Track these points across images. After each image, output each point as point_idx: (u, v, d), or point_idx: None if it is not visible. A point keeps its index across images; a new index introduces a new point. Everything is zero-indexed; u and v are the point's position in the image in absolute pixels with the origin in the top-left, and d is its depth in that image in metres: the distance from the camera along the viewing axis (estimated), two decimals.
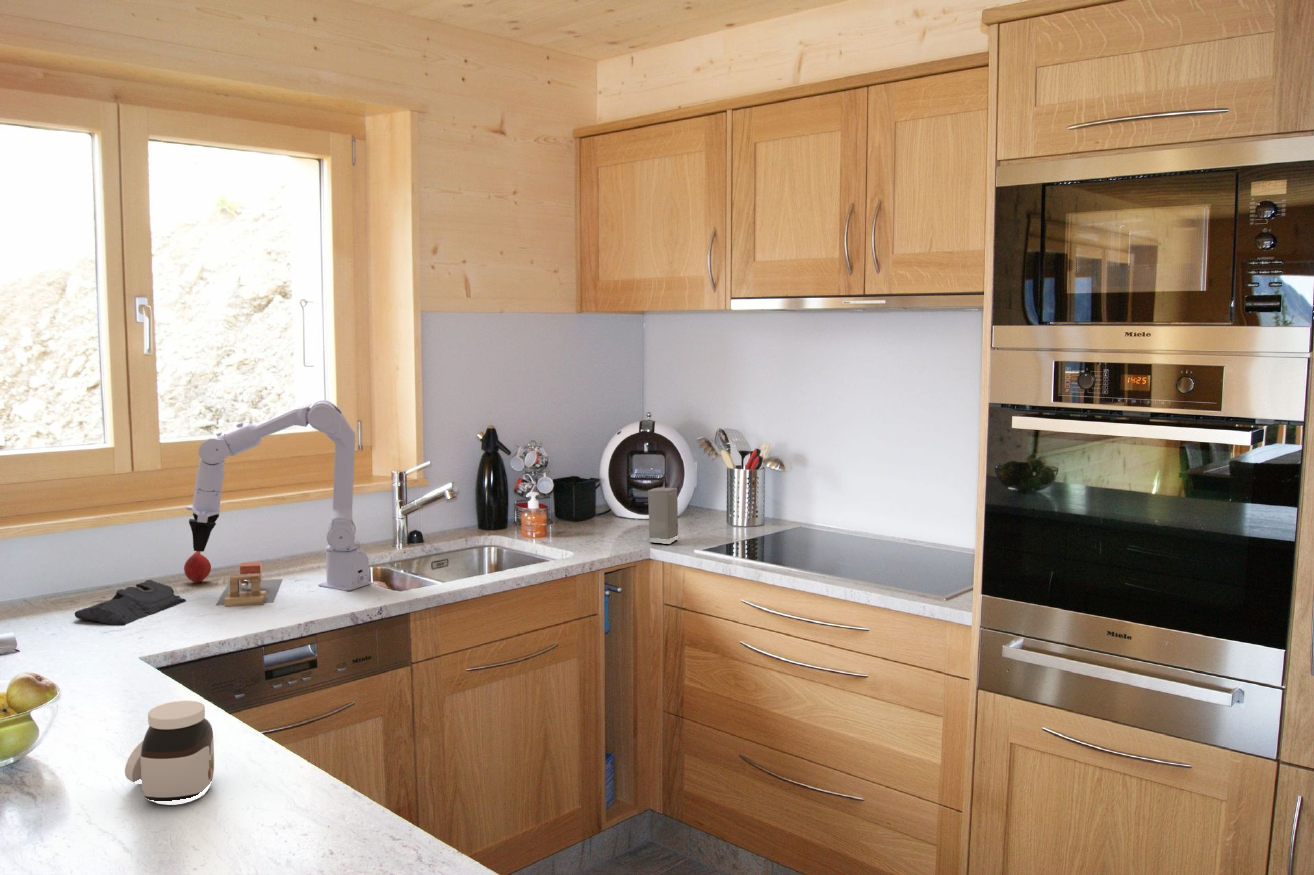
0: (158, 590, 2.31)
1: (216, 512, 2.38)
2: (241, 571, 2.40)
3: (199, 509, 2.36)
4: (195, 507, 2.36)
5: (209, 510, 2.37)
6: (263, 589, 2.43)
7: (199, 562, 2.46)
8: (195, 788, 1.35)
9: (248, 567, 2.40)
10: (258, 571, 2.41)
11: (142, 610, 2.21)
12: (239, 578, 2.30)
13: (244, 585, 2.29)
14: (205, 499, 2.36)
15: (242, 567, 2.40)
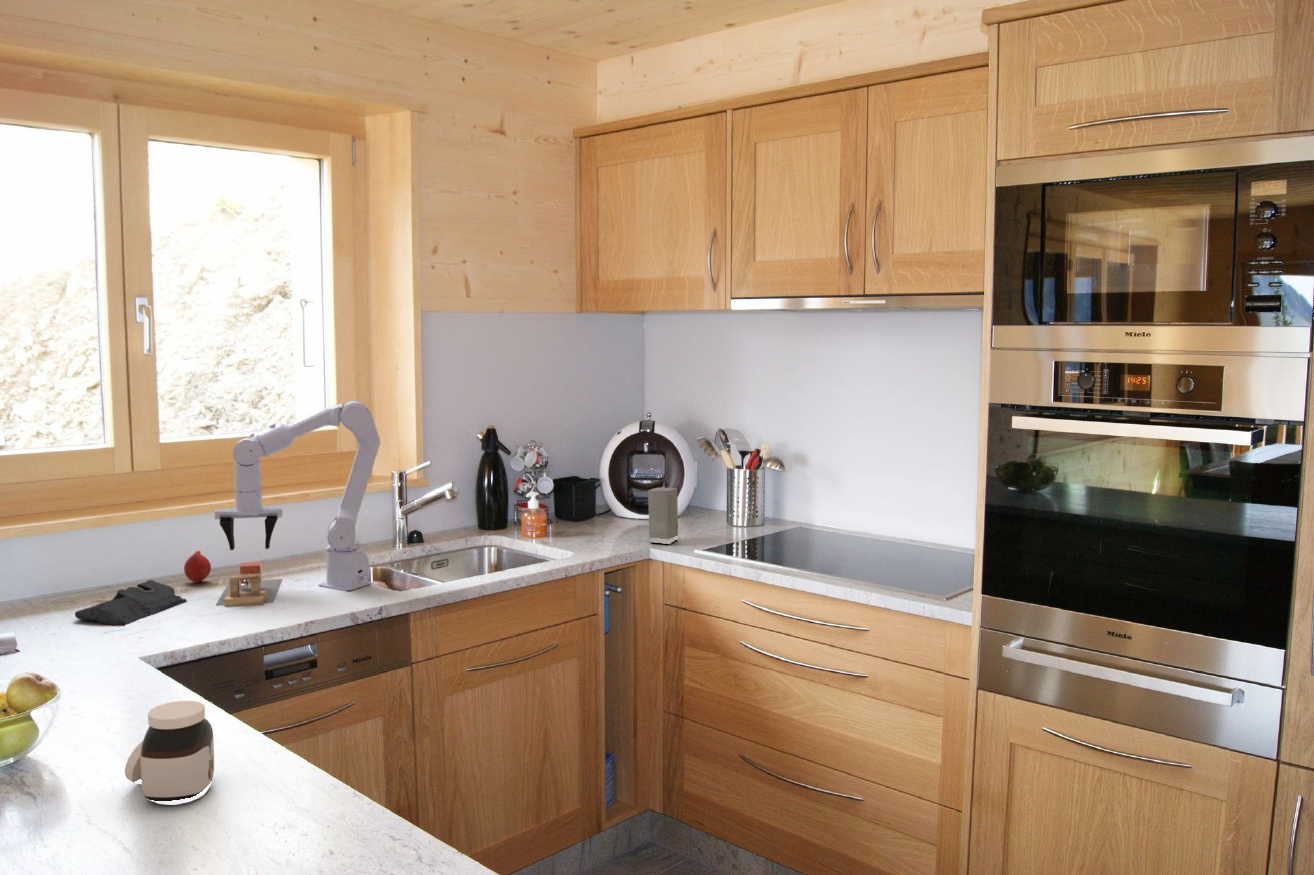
0: (158, 590, 2.31)
1: None
2: (241, 571, 2.40)
3: (260, 509, 2.40)
4: (256, 509, 2.39)
5: (261, 508, 2.42)
6: (263, 589, 2.43)
7: (199, 562, 2.46)
8: (195, 788, 1.35)
9: (248, 567, 2.40)
10: (258, 571, 2.41)
11: (142, 610, 2.21)
12: (239, 578, 2.30)
13: (244, 585, 2.29)
14: (261, 499, 2.41)
15: (242, 567, 2.40)
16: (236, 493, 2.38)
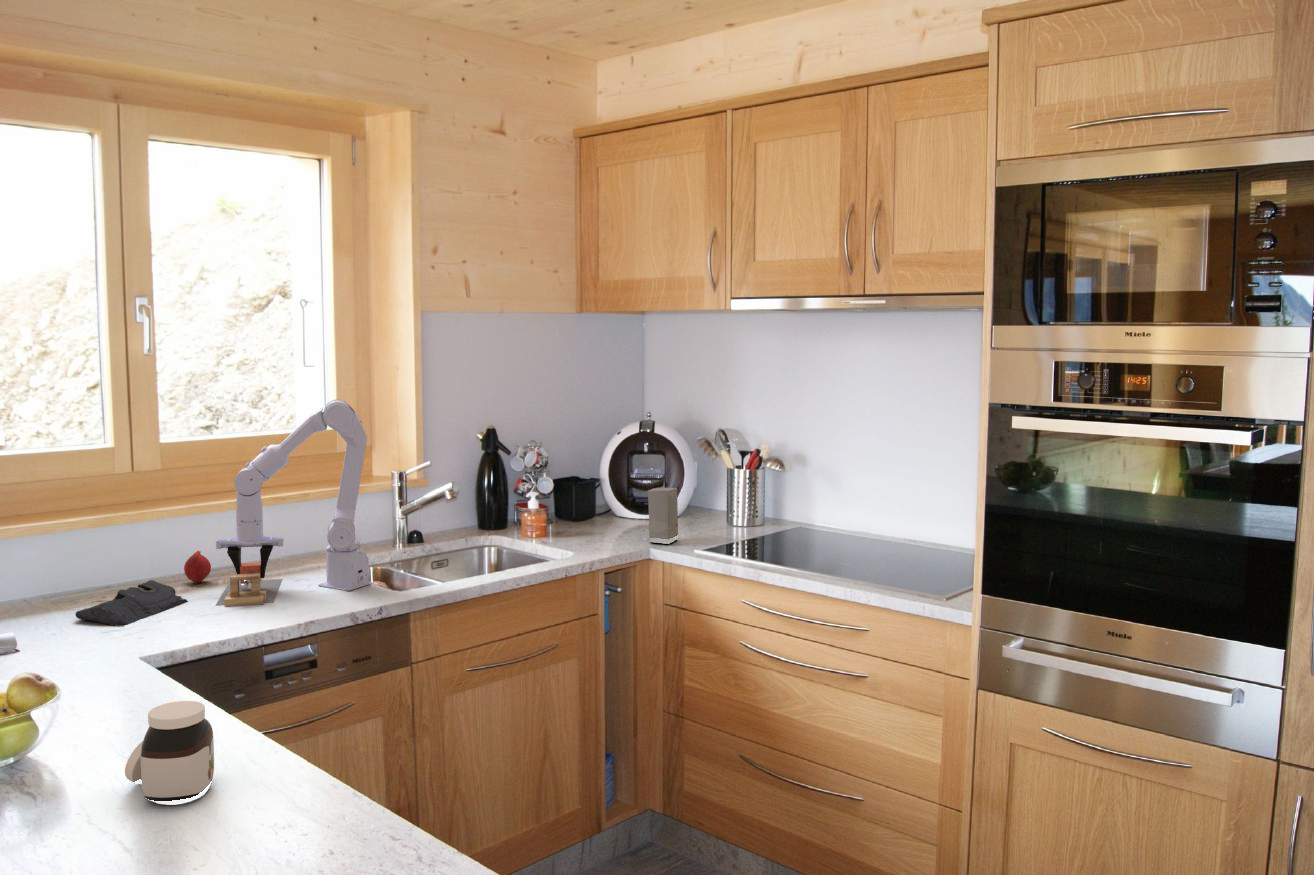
0: (159, 591, 2.30)
1: None
2: (241, 571, 2.40)
3: (261, 539, 2.41)
4: (258, 539, 2.40)
5: (262, 537, 2.43)
6: (263, 589, 2.43)
7: (199, 562, 2.46)
8: (195, 788, 1.35)
9: (248, 567, 2.40)
10: (258, 571, 2.41)
11: (143, 610, 2.21)
12: (239, 578, 2.30)
13: (244, 585, 2.29)
14: (262, 528, 2.42)
15: (242, 567, 2.40)
16: (237, 523, 2.39)
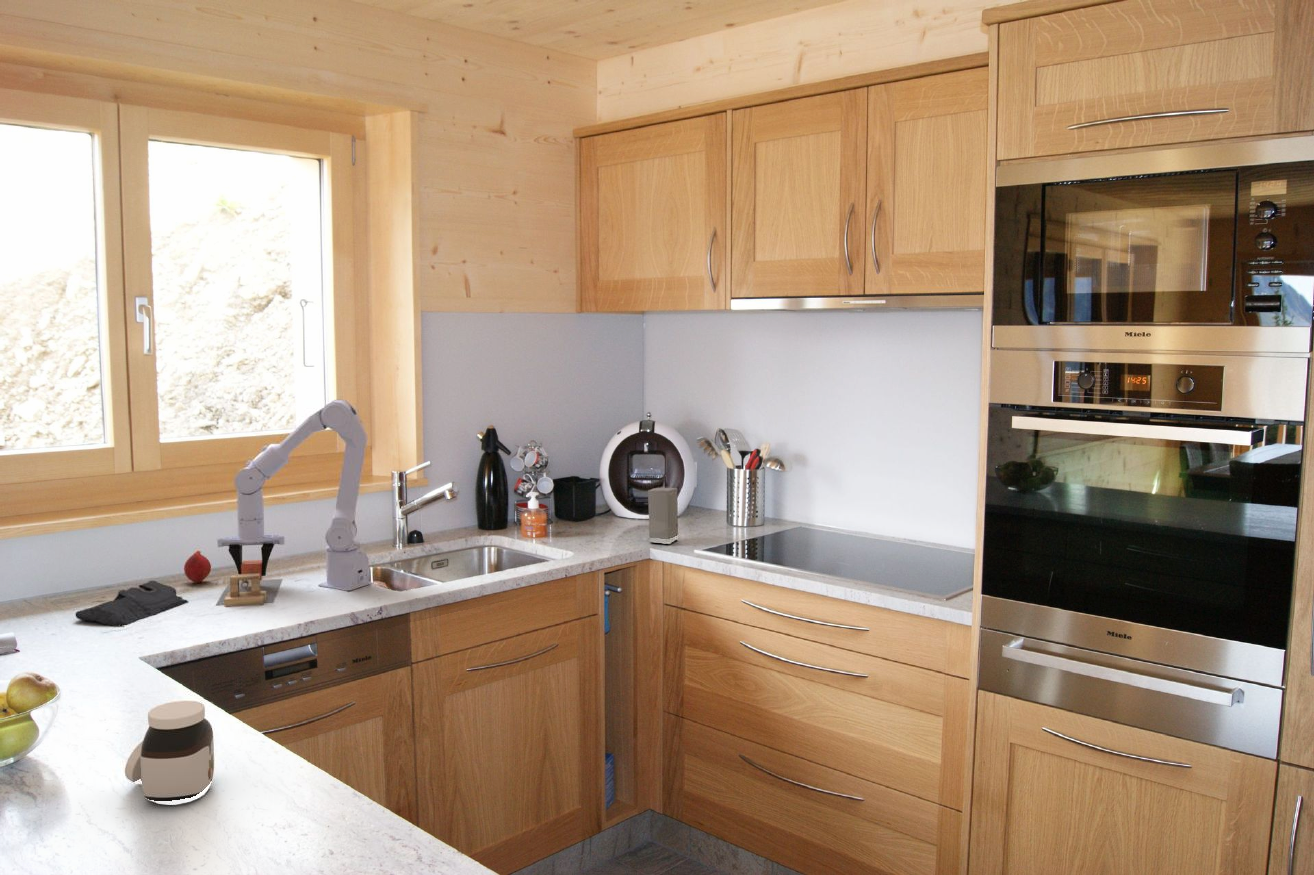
0: (160, 591, 2.30)
1: None
2: (242, 569, 2.42)
3: (262, 537, 2.43)
4: (259, 537, 2.42)
5: (264, 535, 2.45)
6: (263, 589, 2.43)
7: (199, 562, 2.46)
8: (195, 788, 1.35)
9: (249, 565, 2.42)
10: (259, 569, 2.43)
11: (143, 611, 2.21)
12: (239, 578, 2.30)
13: (245, 583, 2.31)
14: (263, 526, 2.44)
15: (243, 565, 2.42)
16: (239, 521, 2.41)
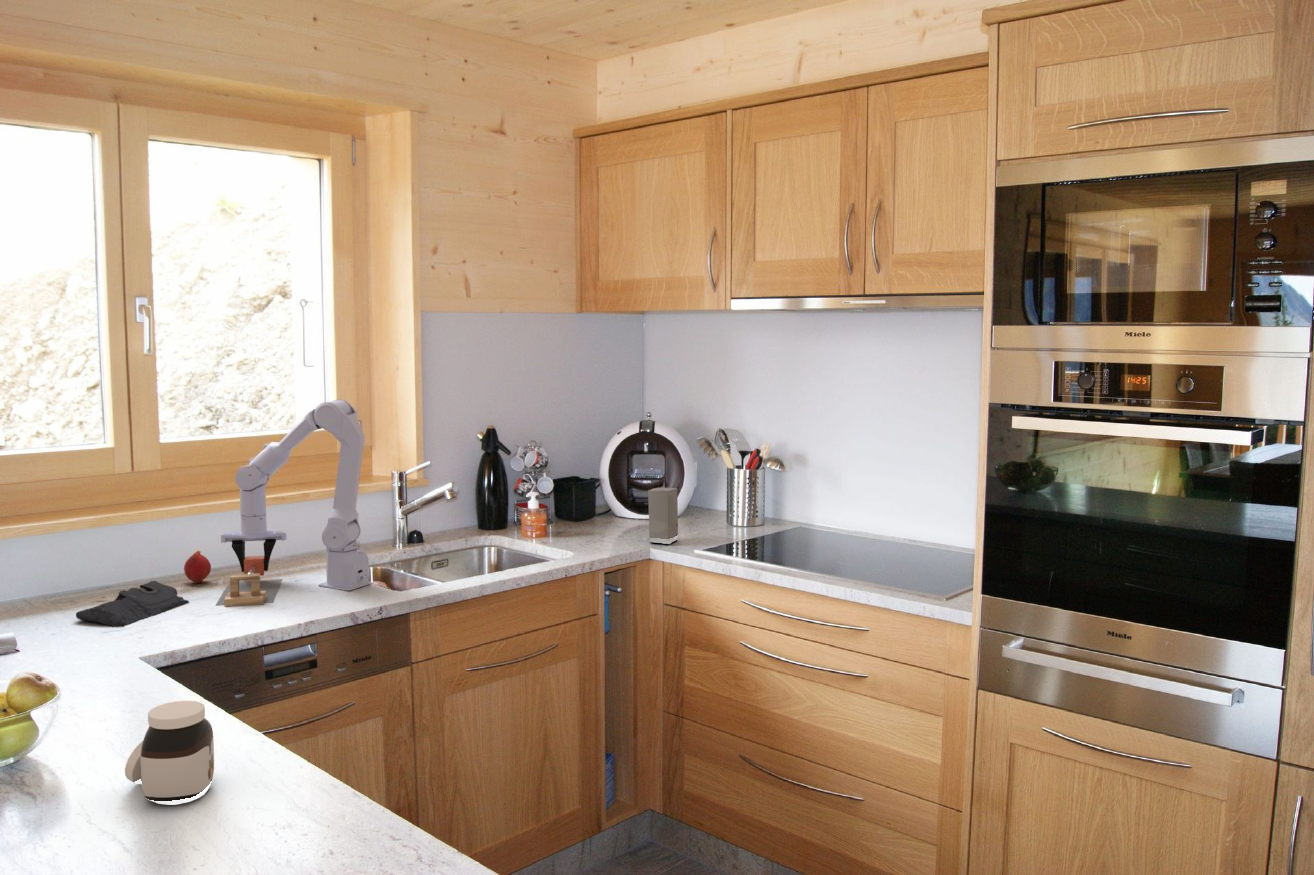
0: (161, 591, 2.30)
1: None
2: (245, 564, 2.47)
3: (265, 533, 2.48)
4: (261, 533, 2.47)
5: None
6: (263, 589, 2.43)
7: (199, 562, 2.46)
8: (195, 788, 1.35)
9: (252, 560, 2.47)
10: (261, 564, 2.48)
11: (143, 611, 2.20)
12: (239, 578, 2.30)
13: None
14: None
15: (246, 560, 2.47)
16: (242, 517, 2.46)
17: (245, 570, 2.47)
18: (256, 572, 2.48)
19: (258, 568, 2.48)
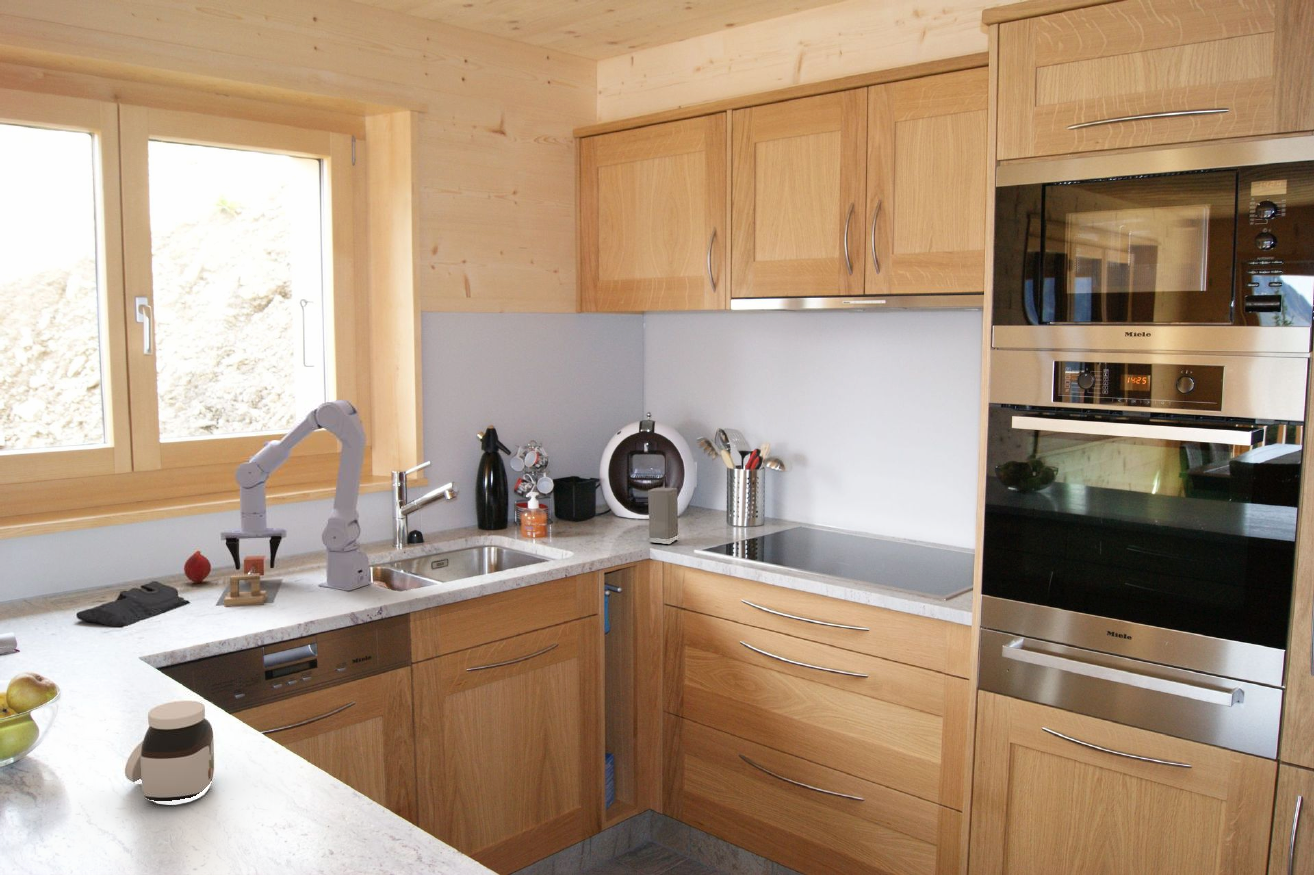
0: (161, 592, 2.30)
1: None
2: (245, 564, 2.47)
3: (265, 530, 2.48)
4: (261, 530, 2.47)
5: None
6: (263, 589, 2.43)
7: (199, 562, 2.46)
8: (195, 788, 1.35)
9: (252, 560, 2.47)
10: (261, 564, 2.48)
11: (143, 612, 2.20)
12: (239, 578, 2.30)
13: None
14: None
15: (246, 560, 2.47)
16: (241, 514, 2.46)
17: (245, 570, 2.47)
18: (256, 572, 2.48)
19: (258, 568, 2.48)
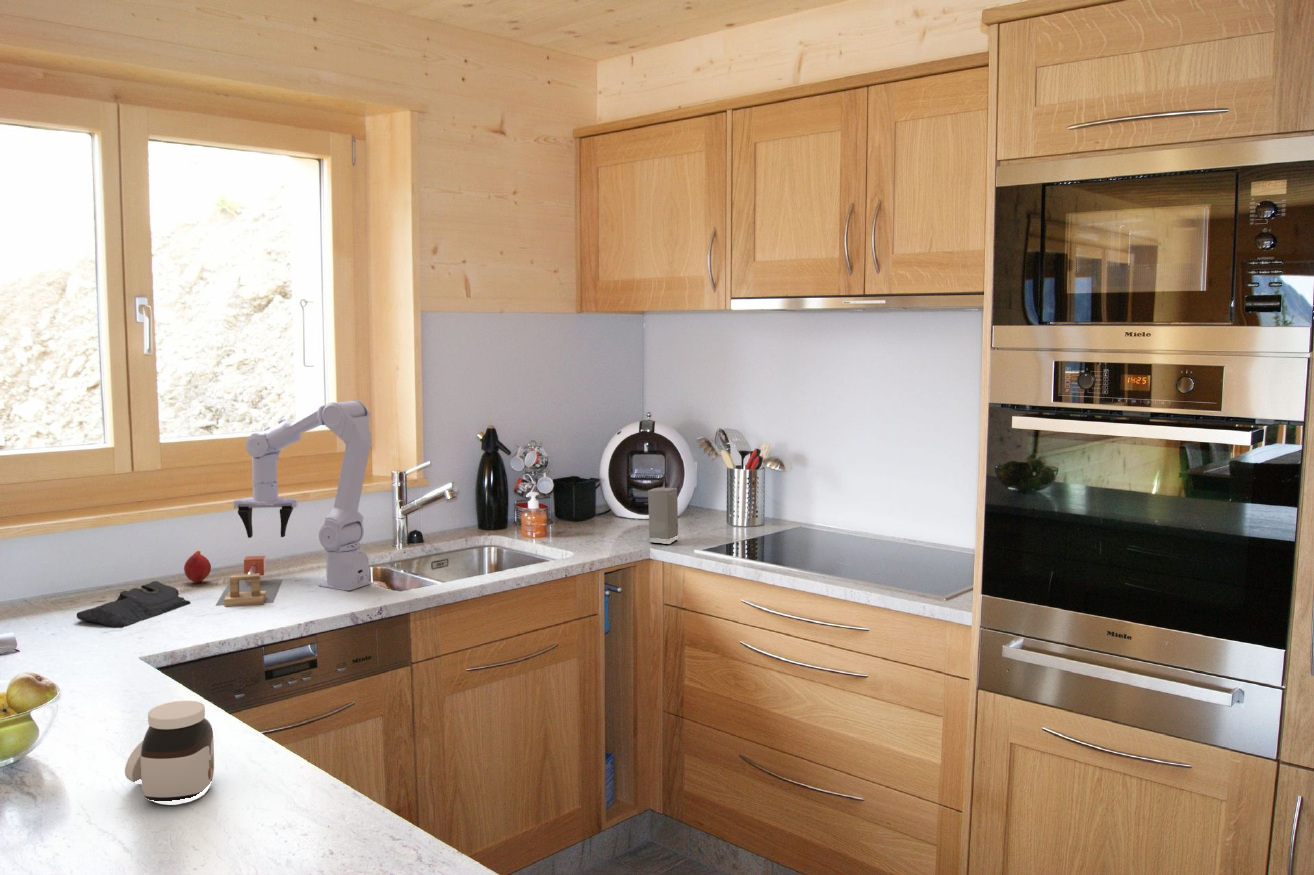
0: (162, 592, 2.29)
1: None
2: (245, 564, 2.47)
3: (275, 500, 2.53)
4: (272, 499, 2.52)
5: (277, 498, 2.56)
6: (263, 589, 2.43)
7: (199, 562, 2.46)
8: (195, 788, 1.35)
9: (252, 560, 2.47)
10: (261, 564, 2.48)
11: (144, 612, 2.20)
12: (239, 578, 2.30)
13: None
14: (277, 489, 2.54)
15: (246, 560, 2.47)
16: (253, 484, 2.52)
17: (245, 570, 2.47)
18: (256, 572, 2.48)
19: (258, 568, 2.48)
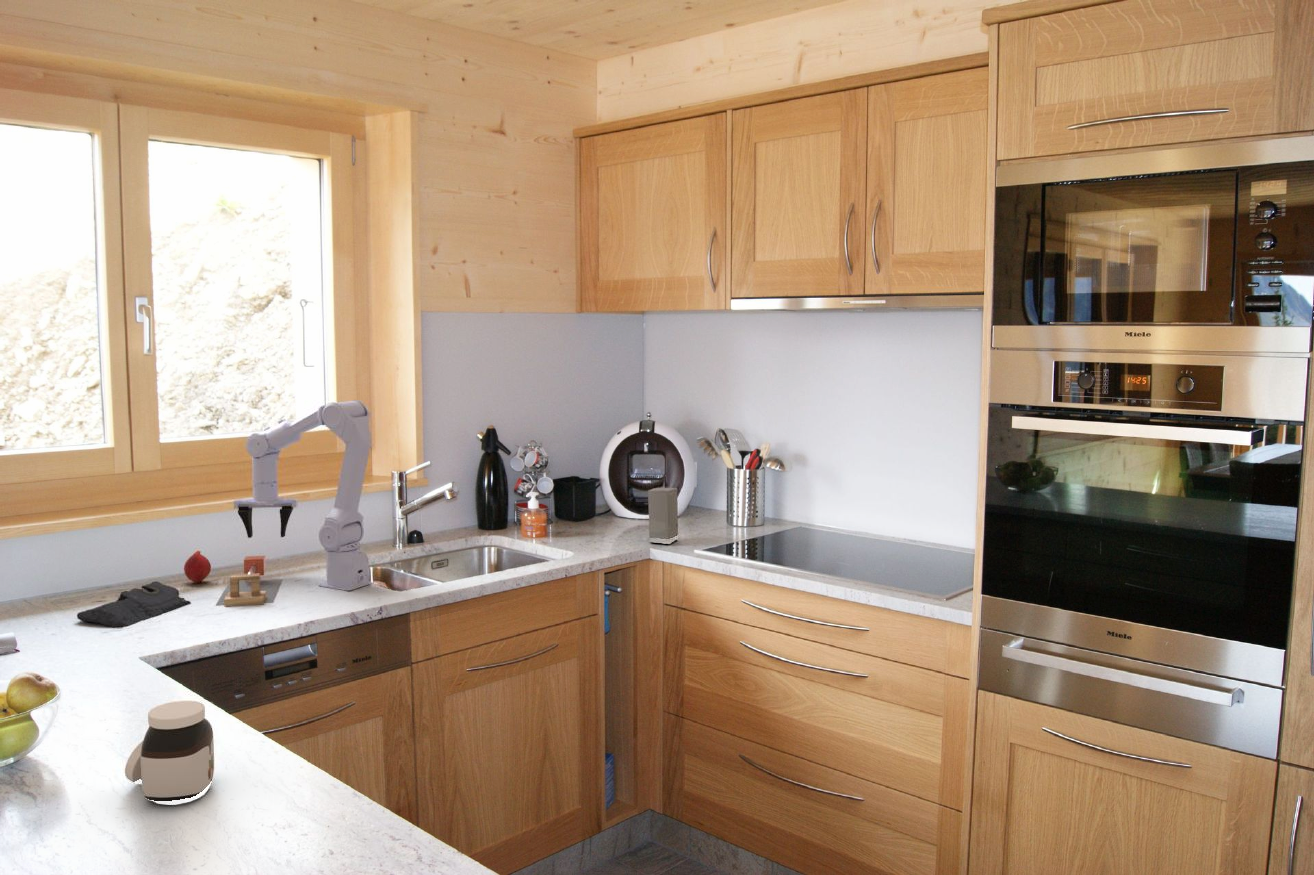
0: (162, 592, 2.29)
1: None
2: (245, 564, 2.47)
3: (275, 500, 2.53)
4: (272, 499, 2.52)
5: (277, 498, 2.56)
6: (263, 589, 2.43)
7: (199, 562, 2.46)
8: (195, 788, 1.35)
9: (252, 560, 2.47)
10: (261, 564, 2.48)
11: (144, 612, 2.20)
12: (239, 578, 2.30)
13: None
14: (277, 489, 2.54)
15: (246, 560, 2.47)
16: (253, 484, 2.52)
17: (245, 570, 2.47)
18: (256, 572, 2.48)
19: (258, 568, 2.48)
